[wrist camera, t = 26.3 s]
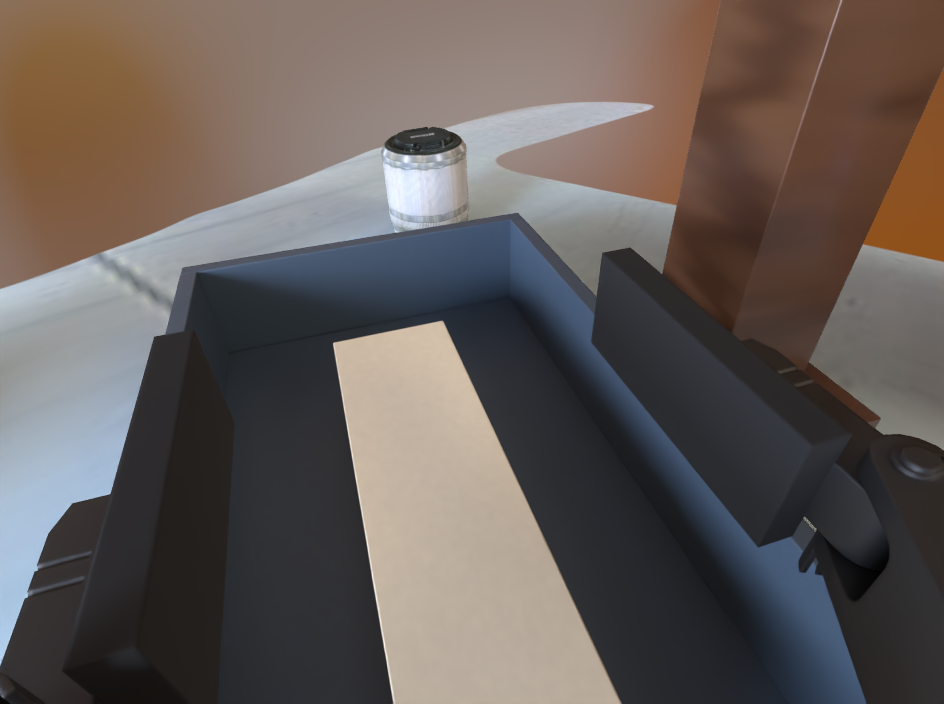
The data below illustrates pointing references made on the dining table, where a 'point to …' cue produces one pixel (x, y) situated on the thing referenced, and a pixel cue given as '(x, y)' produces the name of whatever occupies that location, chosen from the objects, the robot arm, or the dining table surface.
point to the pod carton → (455, 537)
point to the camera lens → (425, 178)
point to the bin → (531, 458)
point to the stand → (797, 159)
